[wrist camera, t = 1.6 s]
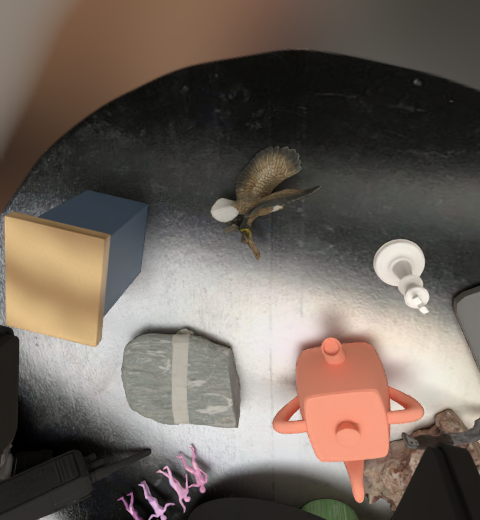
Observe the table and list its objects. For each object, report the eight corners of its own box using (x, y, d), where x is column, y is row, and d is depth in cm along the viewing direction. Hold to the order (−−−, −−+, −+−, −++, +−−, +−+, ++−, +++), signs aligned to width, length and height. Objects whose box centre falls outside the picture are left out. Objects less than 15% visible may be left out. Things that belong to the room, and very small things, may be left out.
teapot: (258, 369, 52) (249, 433, 43) (327, 301, 48) (333, 356, 39) (350, 435, 54) (360, 510, 45) (424, 376, 50) (453, 445, 41)
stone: (343, 450, 57) (389, 491, 60) (348, 508, 50) (400, 550, 53) (448, 402, 51) (494, 450, 53) (469, 461, 44) (520, 511, 47)
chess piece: (389, 292, 47) (410, 345, 38) (363, 256, 46) (379, 301, 36) (433, 267, 45) (466, 316, 36) (407, 229, 44) (435, 270, 35)
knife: (392, 423, 43) (407, 453, 41) (396, 419, 43) (412, 450, 41) (499, 411, 51) (517, 436, 49) (504, 408, 51) (522, 433, 49)
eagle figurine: (282, 256, 45) (339, 190, 41) (237, 265, 40) (296, 190, 35) (239, 203, 48) (288, 136, 43) (192, 205, 43) (241, 128, 38)
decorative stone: (139, 393, 56) (121, 428, 50) (129, 322, 52) (109, 351, 47) (242, 399, 54) (236, 435, 49) (240, 326, 51) (233, 356, 45)
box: (87, 189, 47) (21, 224, 36) (148, 203, 46) (101, 243, 35) (83, 258, 50) (21, 310, 39) (140, 272, 50) (94, 328, 39)
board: (13, 211, 35) (4, 215, 34) (111, 234, 35) (104, 239, 34) (14, 318, 39) (5, 325, 38) (101, 340, 39) (95, 347, 38)
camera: (56, 445, 53) (59, 385, 61) (-43, 450, 49) (-25, 385, 57) (42, 538, 60) (47, 473, 68) (-45, 548, 56) (-29, 478, 64)
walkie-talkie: (-24, 487, 54) (135, 423, 64) (-13, 541, 53) (148, 467, 62) (-30, 491, 49) (144, 421, 59) (-17, 551, 48) (159, 469, 57)
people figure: (180, 457, 55) (216, 511, 54) (200, 435, 60) (233, 484, 59) (90, 514, 61) (121, 564, 60) (115, 489, 67) (144, 534, 66)
